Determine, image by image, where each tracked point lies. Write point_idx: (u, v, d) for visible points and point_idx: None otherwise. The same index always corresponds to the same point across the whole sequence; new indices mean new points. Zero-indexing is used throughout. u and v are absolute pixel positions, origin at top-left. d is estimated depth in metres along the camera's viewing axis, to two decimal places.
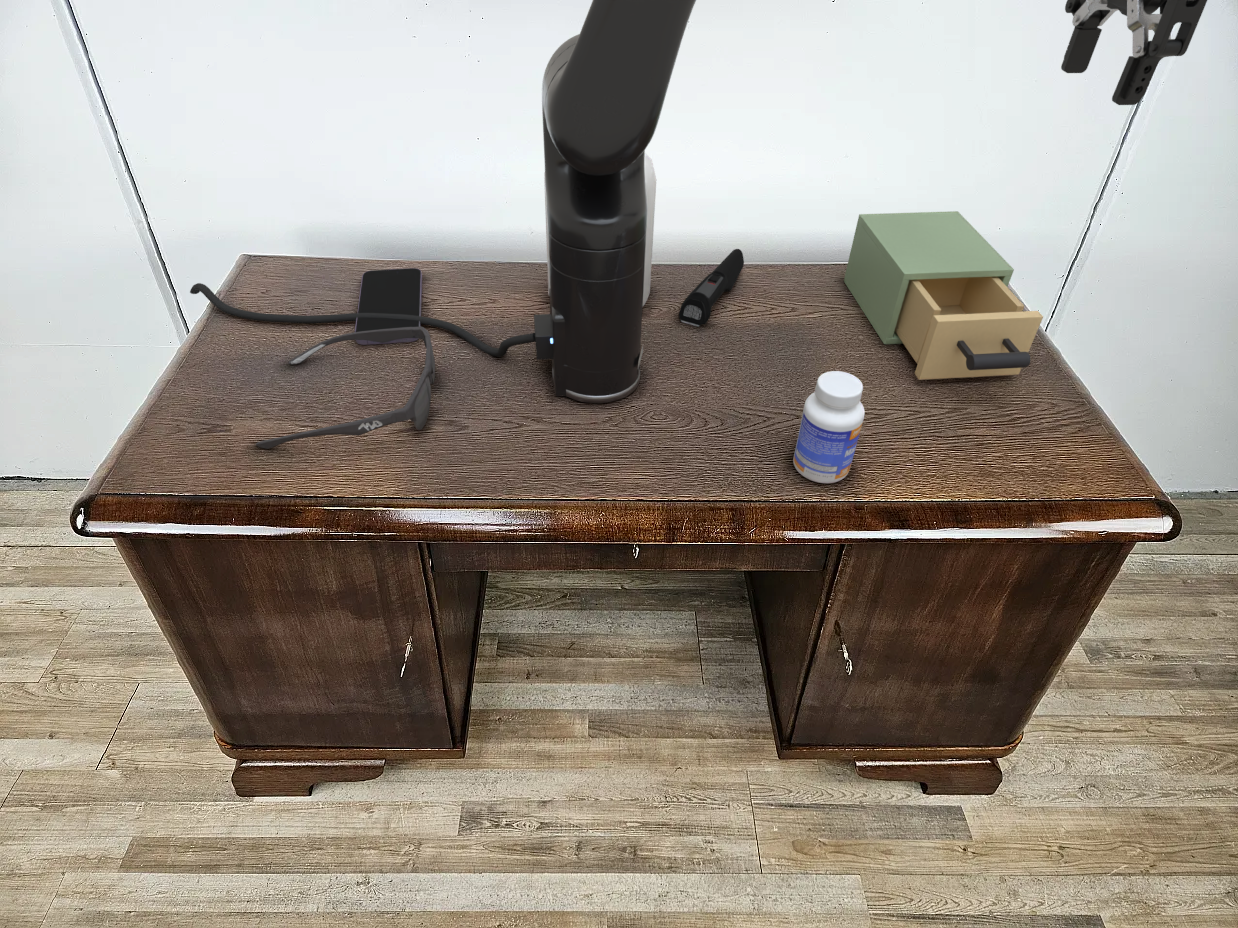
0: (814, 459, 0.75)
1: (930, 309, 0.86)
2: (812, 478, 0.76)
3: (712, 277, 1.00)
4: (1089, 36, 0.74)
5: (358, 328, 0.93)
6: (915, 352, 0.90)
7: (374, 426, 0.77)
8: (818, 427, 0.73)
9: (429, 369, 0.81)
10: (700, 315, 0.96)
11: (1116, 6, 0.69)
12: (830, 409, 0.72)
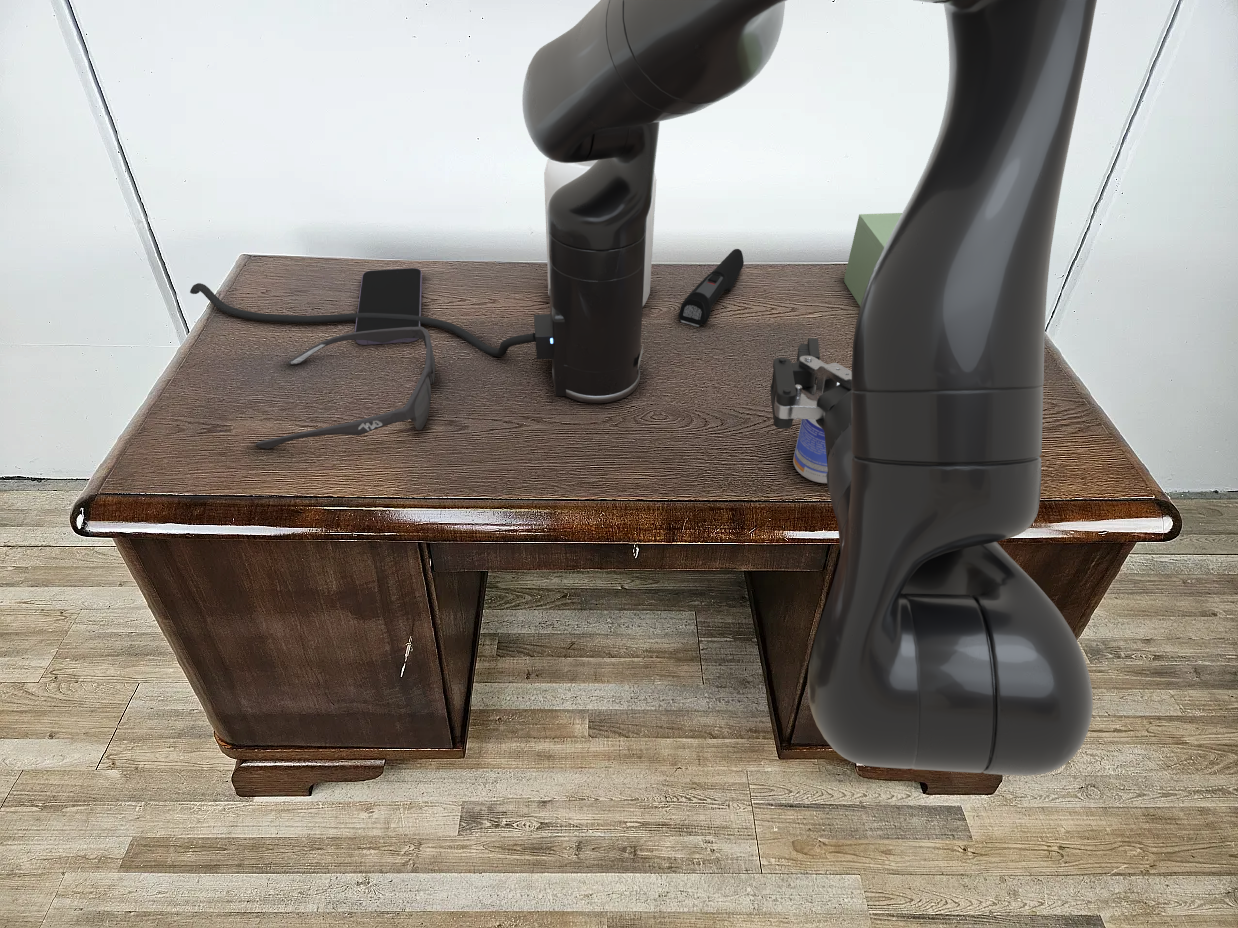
0: (814, 459, 0.75)
1: None
2: (812, 478, 0.76)
3: (712, 277, 1.00)
4: None
5: (358, 328, 0.93)
6: None
7: (374, 426, 0.77)
8: (818, 427, 0.73)
9: (429, 369, 0.81)
10: (700, 315, 0.96)
11: None
12: None
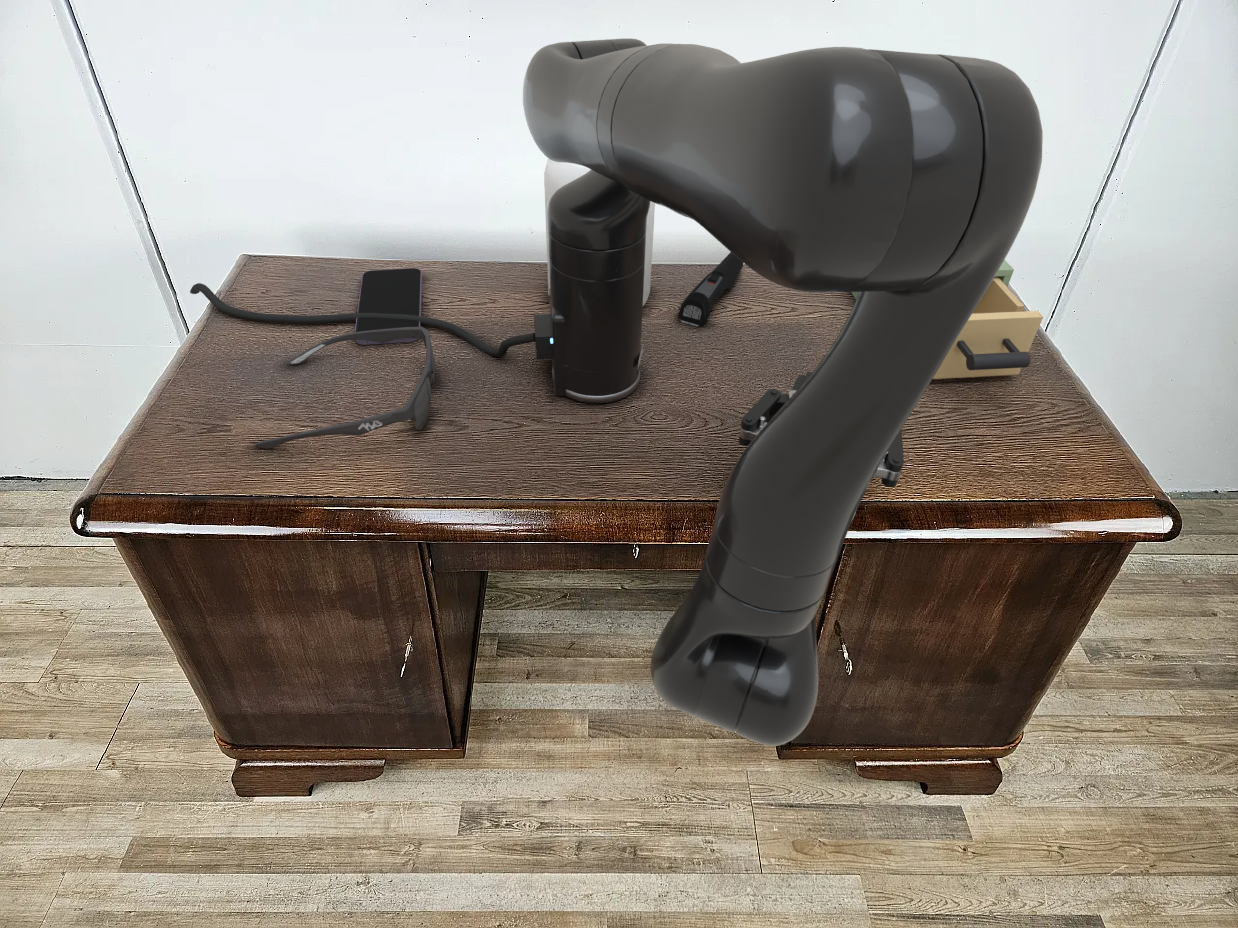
0: None
1: None
2: None
3: (712, 277, 1.00)
4: None
5: (358, 328, 0.93)
6: None
7: (374, 426, 0.77)
8: None
9: (429, 369, 0.81)
10: (699, 315, 0.96)
11: None
12: None
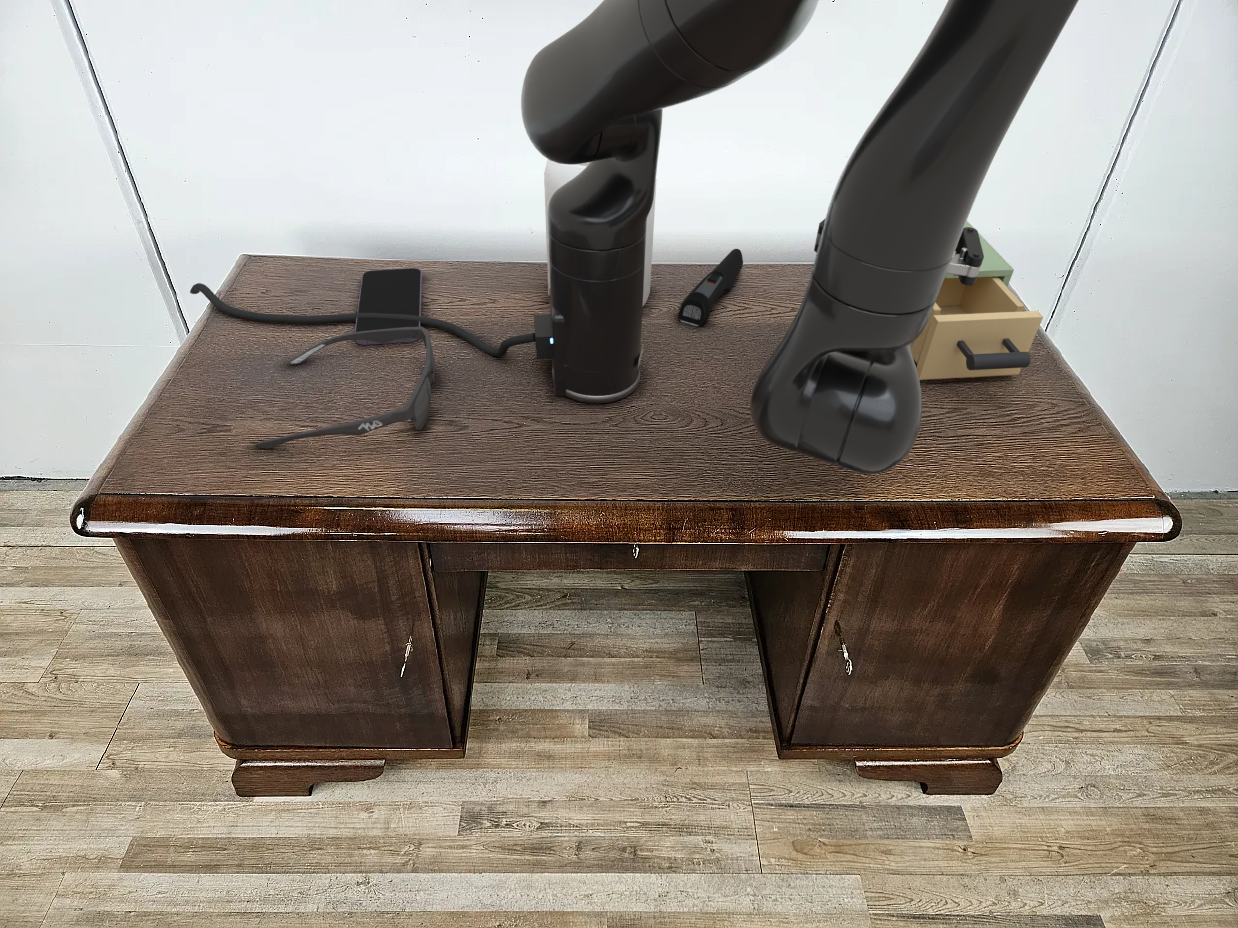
0: None
1: None
2: None
3: (711, 277, 1.00)
4: None
5: (358, 328, 0.93)
6: (915, 352, 0.90)
7: (374, 426, 0.77)
8: None
9: (429, 369, 0.81)
10: (699, 315, 0.96)
11: None
12: None
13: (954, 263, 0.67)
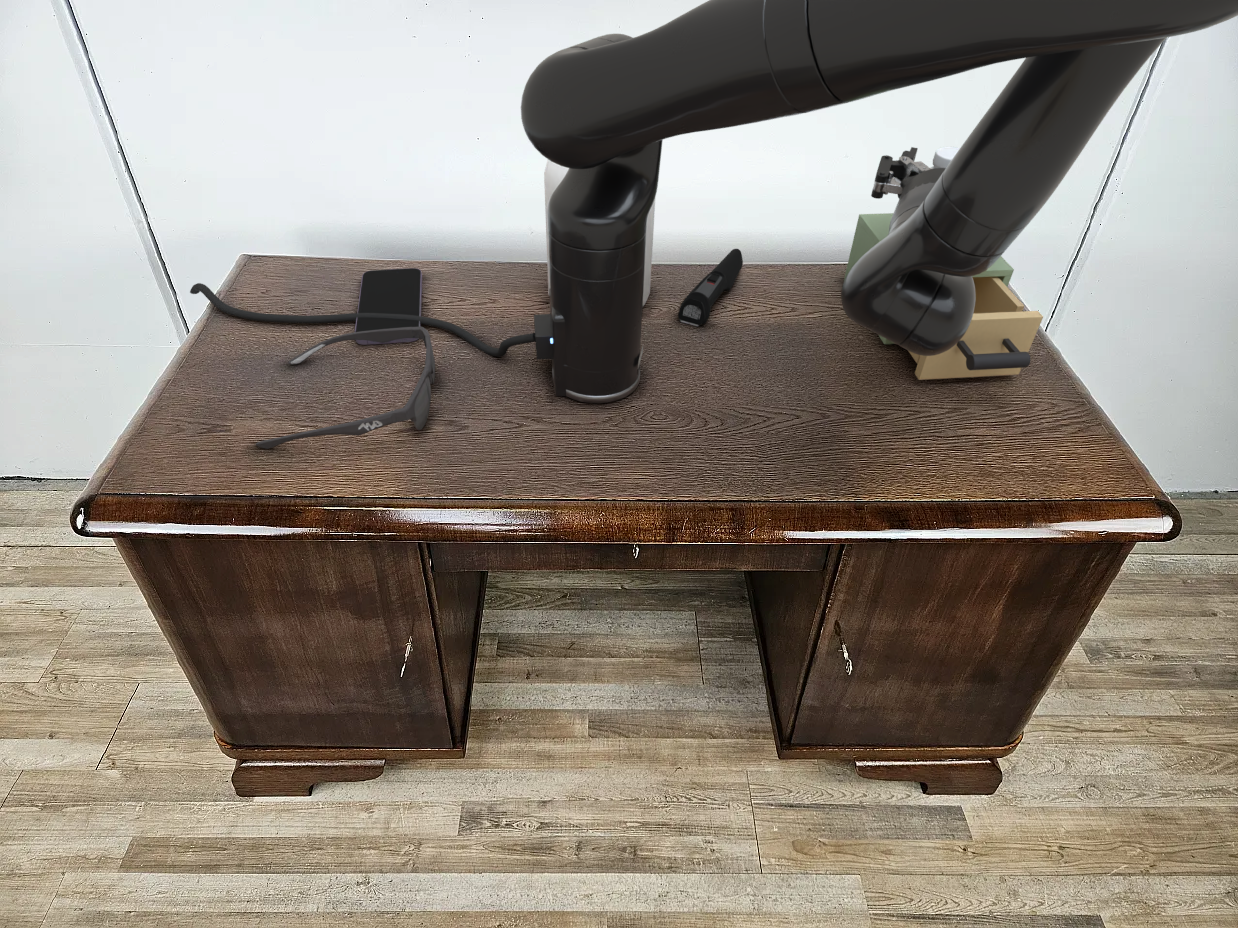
0: None
1: None
2: None
3: (711, 277, 1.00)
4: None
5: (358, 328, 0.93)
6: None
7: (374, 426, 0.77)
8: None
9: (429, 369, 0.81)
10: (699, 314, 0.96)
11: None
12: None
13: None
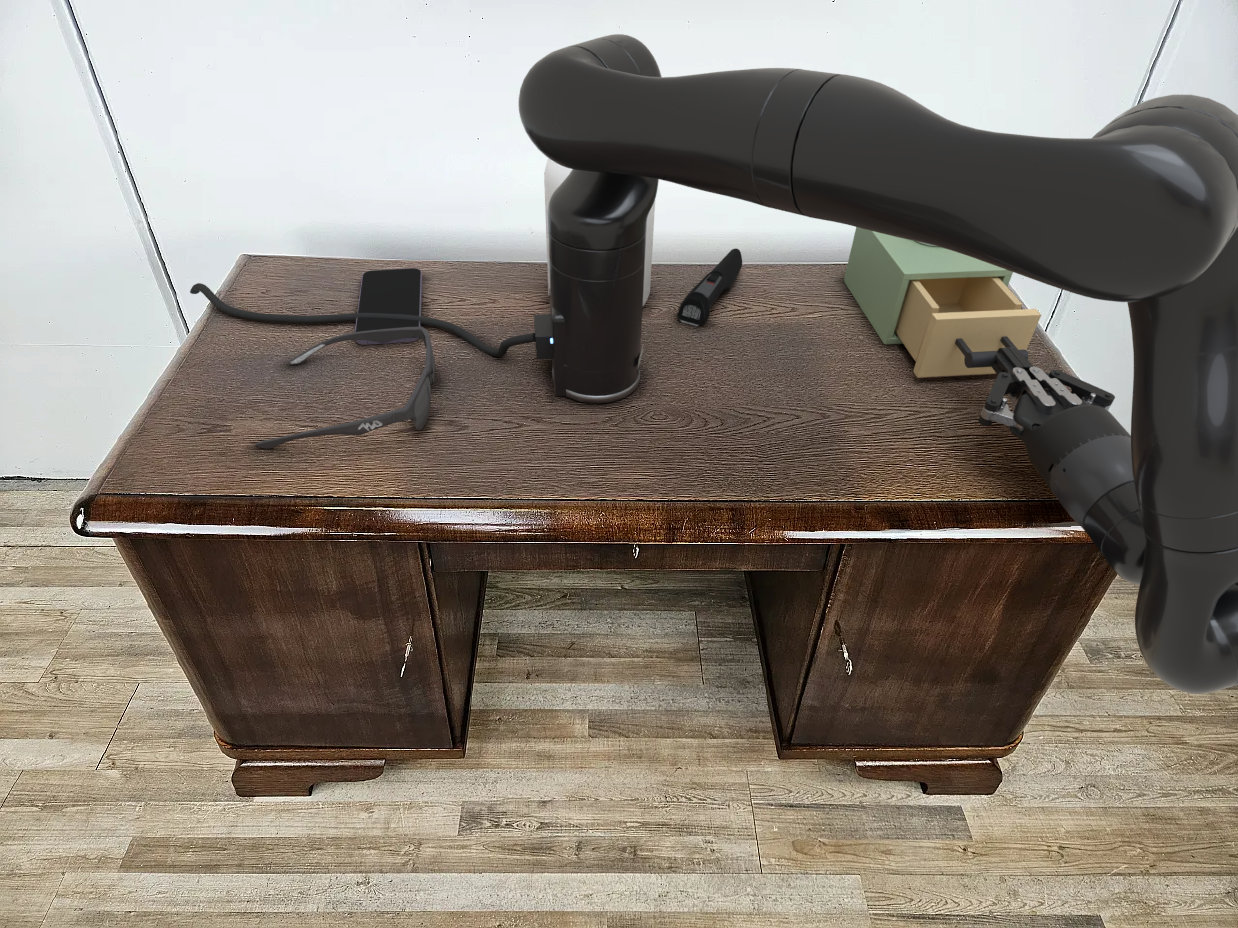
0: None
1: (929, 307, 0.86)
2: None
3: (711, 277, 1.00)
4: None
5: (358, 328, 0.93)
6: (914, 350, 0.90)
7: (374, 426, 0.77)
8: None
9: (429, 369, 0.81)
10: (699, 314, 0.96)
11: (1046, 392, 0.76)
12: None
13: None
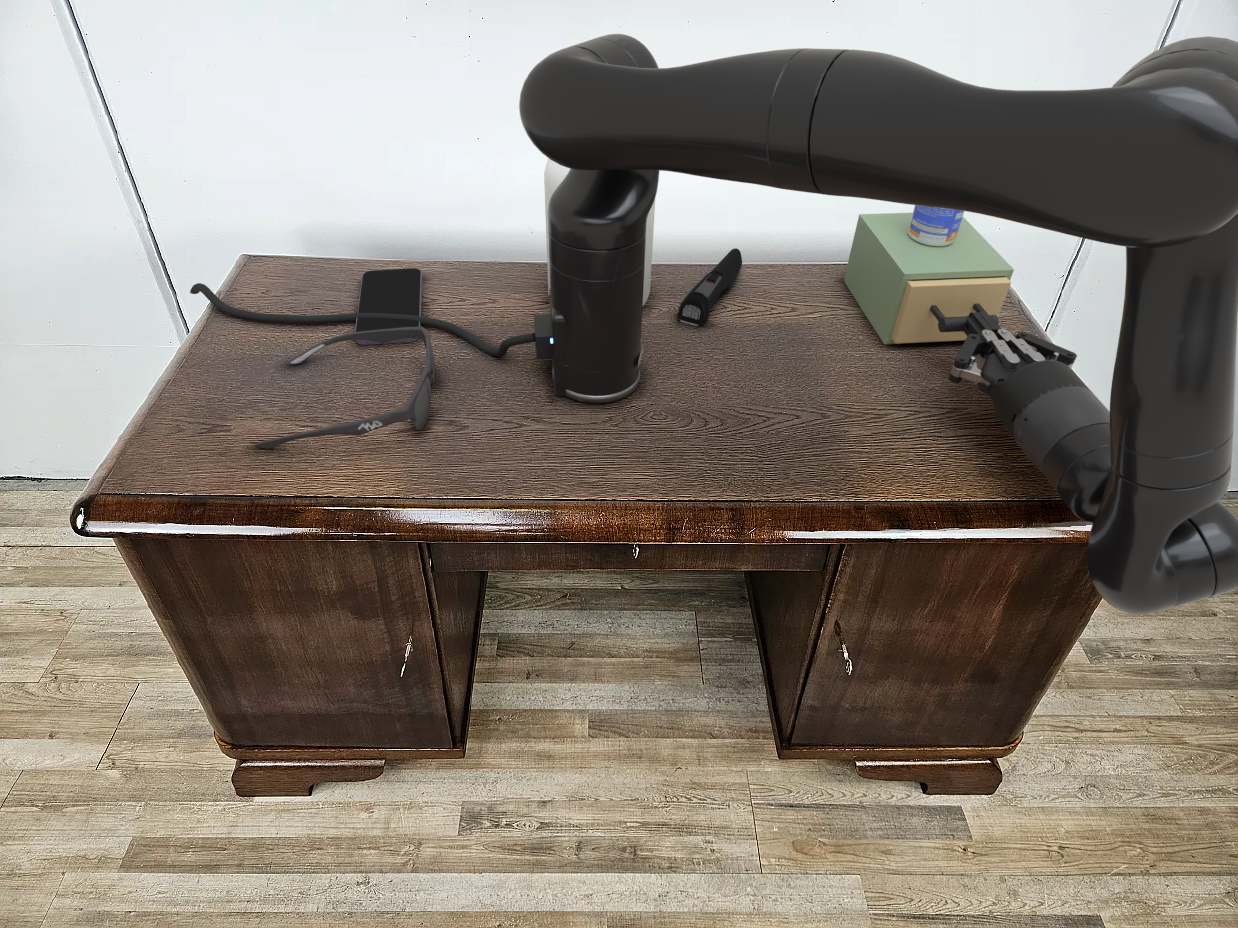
0: (929, 222, 0.91)
1: None
2: (926, 241, 0.93)
3: (711, 277, 1.00)
4: None
5: (358, 328, 0.93)
6: None
7: (374, 426, 0.77)
8: None
9: (429, 369, 0.81)
10: (699, 314, 0.96)
11: (1012, 351, 0.81)
12: None
13: None
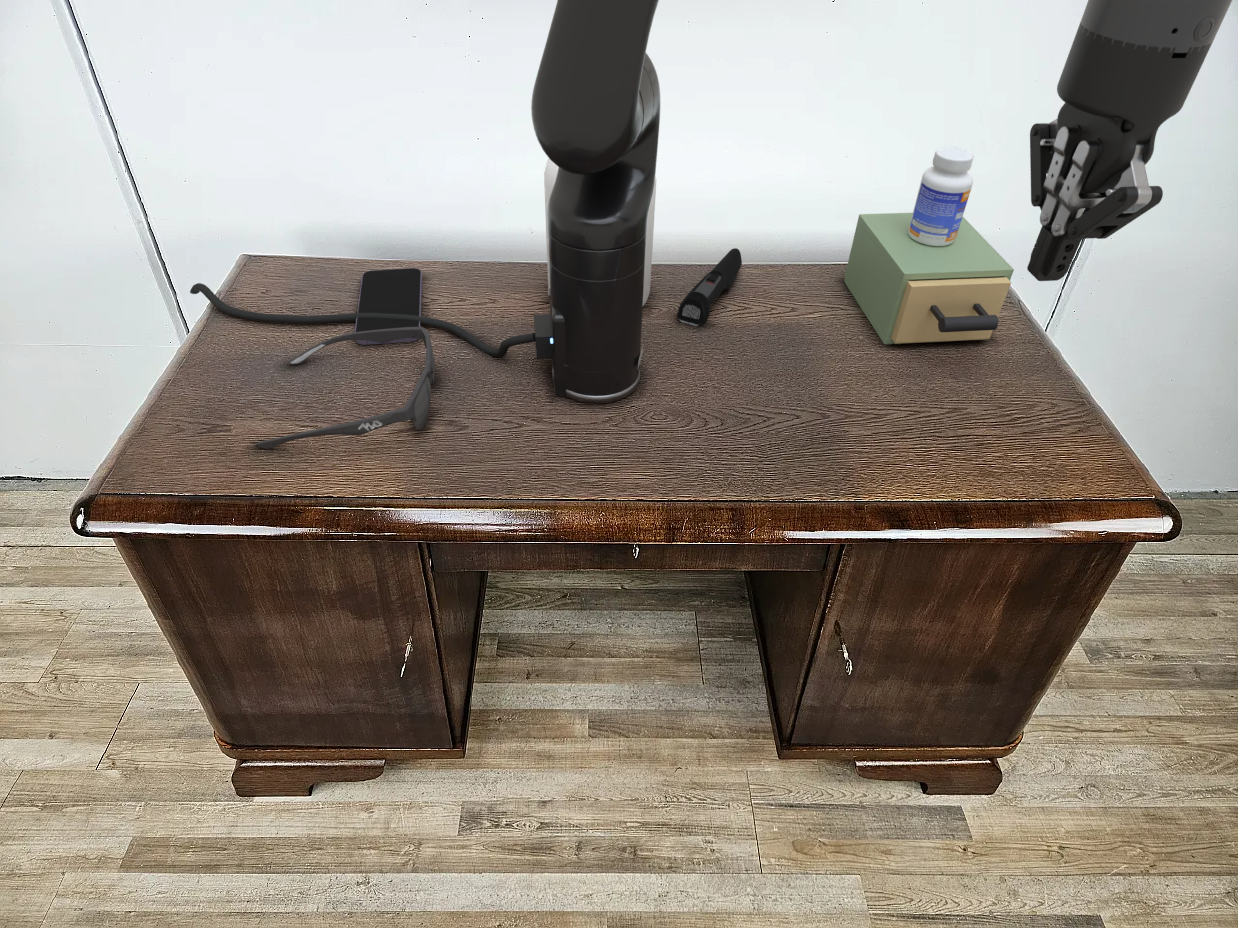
0: (929, 222, 0.91)
1: None
2: (926, 241, 0.93)
3: (710, 277, 1.00)
4: None
5: (358, 328, 0.93)
6: None
7: (374, 426, 0.77)
8: (935, 191, 0.89)
9: (429, 369, 0.81)
10: (699, 314, 0.96)
11: None
12: (947, 174, 0.89)
13: None
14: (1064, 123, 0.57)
